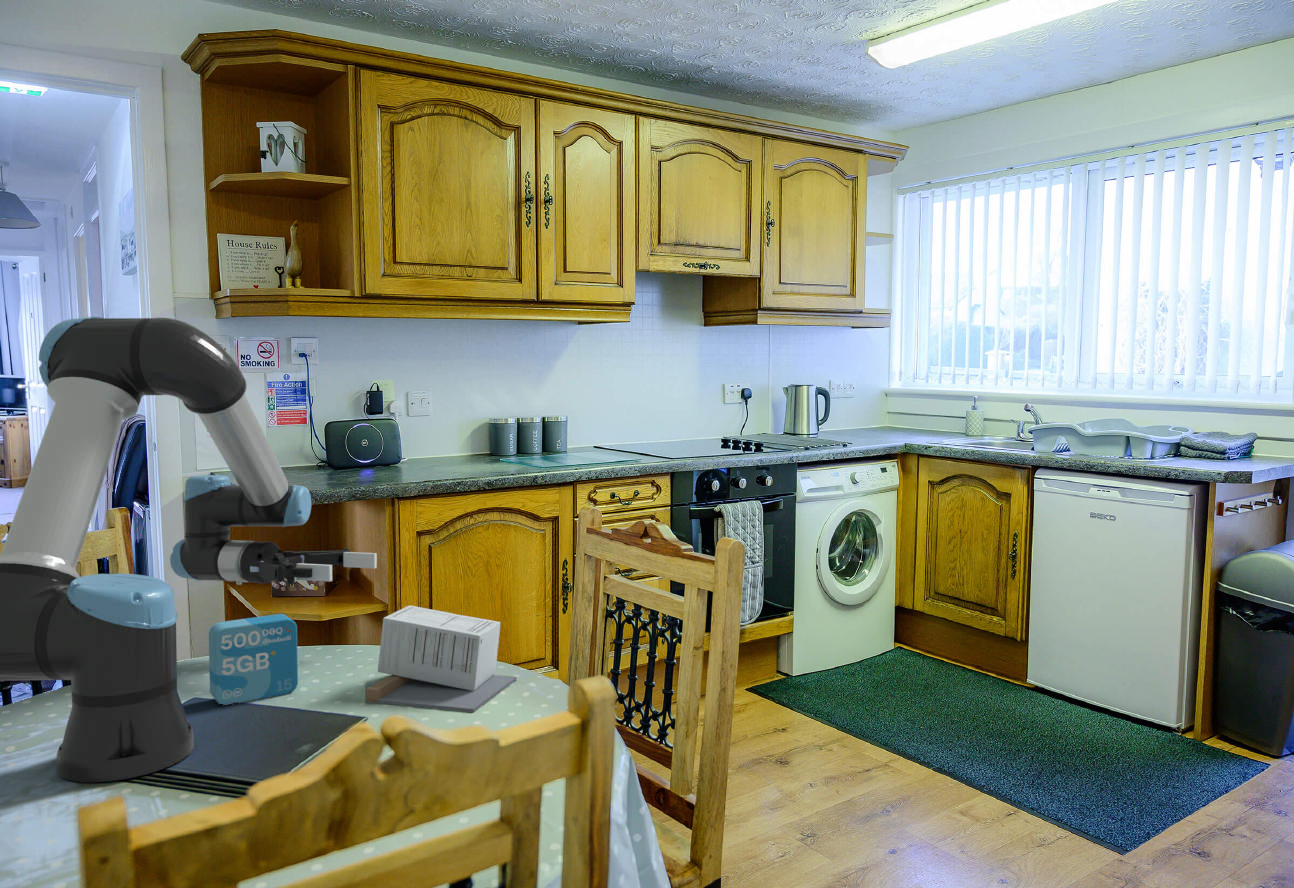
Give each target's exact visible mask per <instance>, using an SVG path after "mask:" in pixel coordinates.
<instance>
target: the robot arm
mask: <svg viewBox="0 0 1294 888" xmlns="http://www.w3.org/2000/svg"><path fill="white" fill-rule="evenodd" d="M38 361H39V362H41V365H40V366H39V367H38V369H39V374H40V378H41V380H42V382H43V384H44V385H45V386H46V387H47V388H46V389H47V392H46V393H47V394H48V396H49V397H50V399H51V400H52V401H53V403H54V405H53V407H52V408H53V409H52V411H51V414H50V416H49V420H48V422H47V424H46V428H45V430H44V433H43V436H42V439H41V442H40V444H39V446H38V447H39V448H38V450H37V452H36V456H35V458H34V461H33V463H32V466H31V469H30V472H29V475H28V478H27V481H26V482H25V486H24V488H23V491H22V495H21V497H20V500H19V502H18V505H17V508H16V511H15V513H14V517H13V518H12V521H11V525H10V527H9V530H8V532H7V536H6V539H5V542H4V543H3V547H2V550H1V551H0V552H1V553H0V682H5V681H70V683H71V684H70V685H71V686H70V687H71V711H70V713H69V716H68V720H67V723H66V727H65V730H64V735H63V740H62V742H61V744H60V745H58V749H57V752H56V773H57V774H58V776H59V777H61V778H62V779H65V780H68V781H72V782H77V783H103V782H104V783H106V782H115V781H120V780H126V779H132V778H137V777H141V776H145V775H149V774H151V773H155V772H158V771H161V770H165V769H166V767H167V768H168V767H171V766H173V765H175V763H176V764H178V763H179V762H181V761H183V760H184V759H186V758H187V757H188V756H190V755H191V753H192V752H193V750H194V747H195V745H194V743H195V742H194V730H193V727H192V725H191V724H190V723H189V722H188V719H187V715H186V711H185V709H184V705H183V703H182V700H181V698H180V695H179V693H178V664H177V662H178V661H177V660H178V659H177V650H178V649H177V619H178V613H177V609H176V601H175V599H176V598H175V594H174V590H173V588H172V586H171V585H170V584H168V583H167V582H166V581H164V580H162V579H159V578H156V577H154V576H153V577H152V576H149V575H144V574H134V573H113V574H111V573H97V574H96V573H95V574H90V575H83V576H81V575H80V574H79V573H78V572H77V570H76V569H77V565H78V562H79V559H80V556H81V553H82V549H83V547H84V543H85V540H86V537H87V533H88V529H90V525H91V521H92V517H93V514H94V511H95V509H96V505H97V502H98V499H99V496H100V492H101V489H102V486H103V483H104V479H105V476H106V473H107V470H108V467H109V464H110V461H111V457H112V454H113V451H114V448H115V445H116V443H117V442H116V441H117V438H118V435H119V431H120V429H121V425H122V422H123V421H125V420H127V419H129V418H132V417H133V416H135V415H136V414H137V412H138V411H139V406H140V403H141V401H142V397H144V396H171V397H174V398H177V399H179V400H181V402H182V403H183V405H184V406H185V408H186V409H187V410H188V411H189V412H192V413H193V414H196V415H197V416H198V417H199V418H200V421H201V422H202V424H203V426H205V429H206V431H207V433H208V435H209V436H210V437H211V439H212V441H213V443H214V445H215V446H216V448H217V450H218V451H219V453H220V455H221V456H222V458H223V459H224V462H225V464H226V465H227V467H228V468H229V470H230V472H231V473H232V475H233V477H234V479H235V480H236V482H237V484H238V485H235V484H234V485H233V484H232V485H231V482H230V477H228V476H227V475H221V474H220V475H219V474H210V475H209V474H207V475H193V476H189V477H188V478H187V479H186V480H185V482H184V483H185V484H184V499H183V503H184V506H183V507H184V538H183V539H180V540H179V541H178V542H176V544H175V545H174V546H173V547H172V553H171V554H170V556H169V563H170V567H171V569H172V571H173V572H174V573H175V575H177V576H178V577H180V578H182V579H190V580H195V581H213V582H214V581H217V582H218V581H219V582H220V581H222V582H223V581H224V582H235V583H236V585H238V586H241V585H242V584H243V583H252V584H253V583H254V584H269V583H272V582H273V581H275V582H279V583H282V582H285V579H286V584H287V585H294V584H295V582H296V580H297V581H313V582H333V567H338V566H339V567H340V566H341V567H342V566H343V567H344V568H355V569H356V568H359V569H377V568H378V567H377V566H378V564H377V563H378V562H377V561H378V557H377V555H378V554H377V552H358V551H357V552H354V551H351V550H350V549H348V547H344V548H343V550H316V551H315V550H310V551H307V550H305V551H304V550H303V551H302V550H297V551H293V550H287V551H285V550H284V551H282V550H281V548H280V547H279V546H278V545H277V543H275V542H272V541H259V540H258V541H253V540H242V539H241V540H240V539H239V540H236V539H234V540H233V539H232V540H230V538H231V537H230V535H231V527H283V528H286V527H295V526H303V525H304V524H306V523H307V522H308V520H309V518H310V515H311V513H312V512H311V511H312V496H311V493H310V491H309V489H308V488H307V487H305V486H304V485H296V484H293V485H290V483H289V481H288V479H287V477H286V475H285V474H284V471H283V469H282V467H281V465H280V462H279V461H278V459H277V457H276V455H275V453H274V451H273V449H272V447H271V445H270V443H269V440H268V438H267V437H266V435H265V433H264V431H263V429H262V427H261V425H260V423H259V421H258V419H257V418H258V417H257V416H256V415H255V412H254V409H253V408H252V407H251V404H250V402H249V400H248V398H247V395H246V392H247V387H248V384H247V381H246V379H245V377H244V375H243V373H242V371H241V369H240V367H239V365H238V364H237V362H236V361H235V360H234V359H233V358H232V356H231V355H230V354H229V353H228V352H227V351H226V350H225V349H224V348H223V346H221V344H219V343H218V342H217V341H215V340H214V339H213V338H212V337H211V336H209V335H208V334H207V333H206V332H203V331H202V330H200V328H197V327H196V326H193V325H192V324H189V323H187V322H184V321H182V320H179V319H175V318H169V317H152V318H151V317H147V318H146V317H144V318H143V317H141V318H140V317H133V318H131V317H129V318H128V317H127V318H125V317H123V318H122V317H121V318H120V317H117V318H115V317H112V318H111V317H109V318H104V317H101V316H100V317H99V316H85V317H83V318H81V317H80V318H70V319H65V320H62V321H60V322H59V323H57V324H55V325H54V326H53V327H51V329H50V330H49V331H48V332H47V333H46V335H45V337H44V338H43V340H42V342H41V345H40V349H39V352H38ZM295 578H296V580H295ZM193 746H194V747H193ZM192 749H193V750H192ZM191 751H192V752H191ZM187 755H188V756H187ZM186 756H187V757H186ZM185 757H186V758H185ZM182 759H183V760H182Z"/></svg>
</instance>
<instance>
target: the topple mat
mask: <svg viewBox="0 0 1294 888" xmlns="http://www.w3.org/2000/svg"><path fill="white" fill-rule="evenodd" d="M516 679H517V676H511V675H500V674H494V675H493V676H491V677H490V678H489V679H488V680H486V681H485V682H484V683H483V684H482V685H480V686H479V687H478V688H477V689H476V690H474V691H470V690H465V689H460V688H456V687H451V686H446V685H441V684H436V683H431V682H426V681H421V680H416V679H411V678H406V677H401V676H396V675H391V674H390V675H388V676H387V677H386V678H383V679H382V680H380V681H378V682H376V683H374V684H373V685H371V686H369V687H367V688H366V689H365V701H366V703H374V704H383V705H384V704H385V705H386V704H387V705H396V706H407V707H414V708H415V707H416V708H427V709H435V710H436V709H437V710H445V711H446V710H448V711H458V712H467V713H474V712H476V711H477V710H478V709H480V708H482V706H484V705H485V704H486V703H488V702H489V701H491V700H492V699H493V698H494V697H496V696H497V695H499V694H500V693H501V692H503V691H504V690H505V689H506V688H507V687H509V686H511V685H512V684H513V683H515V682H516V681H517V680H516ZM515 680H516V681H515Z"/></svg>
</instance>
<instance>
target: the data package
mask: <svg viewBox="0 0 1294 888" xmlns="http://www.w3.org/2000/svg"><path fill="white" fill-rule="evenodd" d="M298 658H299V657H298V625H297V623H296V622H295V620H293V619H292V618H290V617H288V615H286V614H284V613H277V614H269V615H263V616H257V617H247V618H241V619H240V618H239V619H234V620H233V619H232V620H225V621H220V622H217V623H214V624H213V625H212V626H211V627H210V628H209V631H208V660H209V666H208V667H209V668H208V669H209V692H210V695H211V696H212V697H213V699H214V700H215V701H216V702H217V704H218V705H220V704H225V703H231V702H232V703H233V702H239V703H238V704H243V703H246V702H253V701H258V700H263V699H268V698H274V697H279V696H285V695H288V694H291V693H292V692H294V691H295V690H296V689H297V687H298V683H299V674H298V672H299V671H298V669H299V666H298Z"/></svg>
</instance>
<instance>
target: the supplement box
mask: <svg viewBox="0 0 1294 888" xmlns="http://www.w3.org/2000/svg"><path fill="white" fill-rule="evenodd" d="M500 632H501V621H495V620H492V619H491V620H490V619H485V618H480V617H474V616H468V615H463V614H462V615H461V614H458V613H457V614H455V613H452V612H449V611H448V612H447V611H441V610H436V609H430V608H427V607H426V608H425V607H420V606H414V605H407V606H405V607H403V608H402V609H398V610H397V611H395V612H392V613H391V614H389V615H387V616H385V617H383V619H382V628H381V636H380V648H379V657H378V665H377V673H380V674H381V673H382V674H387V675H390V676H391V675H396V676H401V677H406V678H411V679H416V680H421V681H426V682H431V683H436V684H441V685H446V686H451V687H456V688H460V689H465V690H470V691H474V690H476V689H477V688H478V687H479V686H480V685H482V684H483V683H484V682H485V681H486V680H488V679H489V678H490V677H491V676H493V675H496V669H497V662H498V659H497V658H498V651H499V641H500V640H499V639H500Z"/></svg>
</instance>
